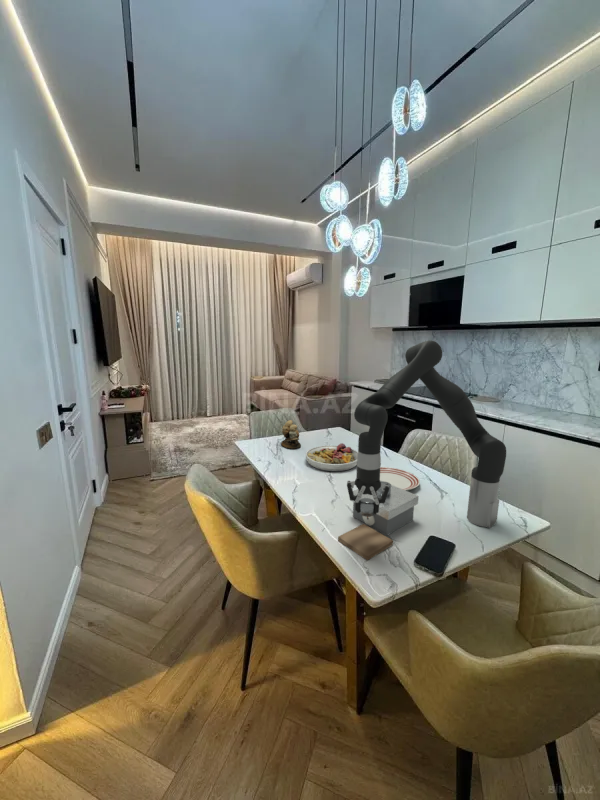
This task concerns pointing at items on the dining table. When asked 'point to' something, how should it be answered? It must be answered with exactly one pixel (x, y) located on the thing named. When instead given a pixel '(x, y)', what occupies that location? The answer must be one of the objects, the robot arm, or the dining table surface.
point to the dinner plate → (399, 478)
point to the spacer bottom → (379, 491)
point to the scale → (384, 524)
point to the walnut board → (365, 541)
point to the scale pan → (394, 502)
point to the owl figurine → (290, 436)
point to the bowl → (332, 457)
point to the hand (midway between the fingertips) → (366, 512)
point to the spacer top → (367, 507)
